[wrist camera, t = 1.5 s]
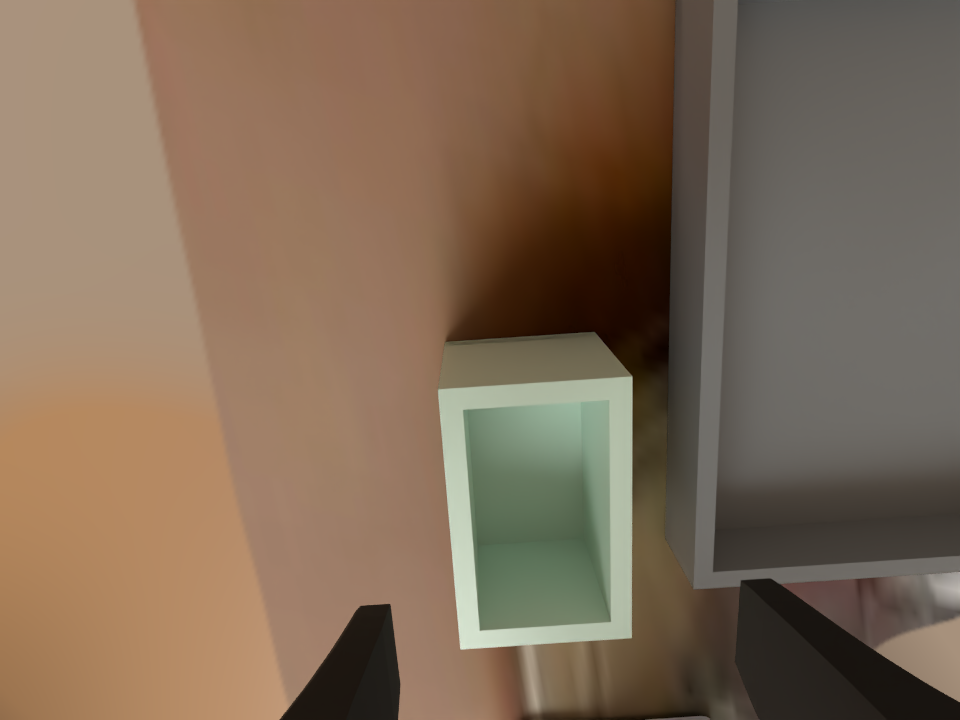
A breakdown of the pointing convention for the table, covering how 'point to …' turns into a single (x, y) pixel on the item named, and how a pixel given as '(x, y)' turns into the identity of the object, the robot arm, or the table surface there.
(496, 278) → the table surface
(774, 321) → the grey tray
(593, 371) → the mint crate
